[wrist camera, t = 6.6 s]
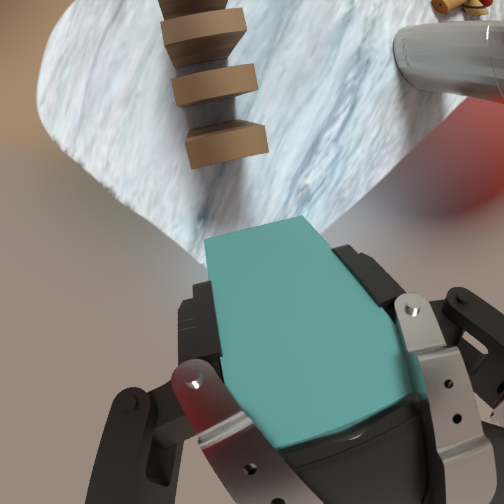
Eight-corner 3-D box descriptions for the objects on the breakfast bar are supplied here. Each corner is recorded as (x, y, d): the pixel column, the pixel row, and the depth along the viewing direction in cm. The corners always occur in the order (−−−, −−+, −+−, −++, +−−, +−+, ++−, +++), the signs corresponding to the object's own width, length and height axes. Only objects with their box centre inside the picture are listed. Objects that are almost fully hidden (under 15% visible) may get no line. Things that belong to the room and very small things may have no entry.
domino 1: (217, 7, 17) (231, -38, 9) (220, 22, 18) (235, -20, 10) (165, 18, 17) (153, -25, 8) (168, 32, 18) (155, -7, 9)
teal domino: (302, 215, 13) (434, 378, 5) (304, 245, 14) (413, 407, 6) (204, 239, 13) (238, 455, 5) (212, 269, 14) (252, 469, 6)
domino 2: (224, 42, 20) (242, 7, 11) (227, 57, 21) (247, 30, 12) (172, 52, 19) (160, 21, 11) (175, 68, 20) (164, 45, 12)
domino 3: (231, 79, 22) (253, 63, 13) (234, 96, 23) (258, 89, 14) (179, 90, 21) (171, 79, 13) (183, 107, 22) (176, 105, 14)
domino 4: (239, 119, 24) (264, 125, 16) (242, 136, 25) (268, 152, 16) (188, 130, 24) (184, 142, 15) (192, 147, 25) (191, 169, 16)
